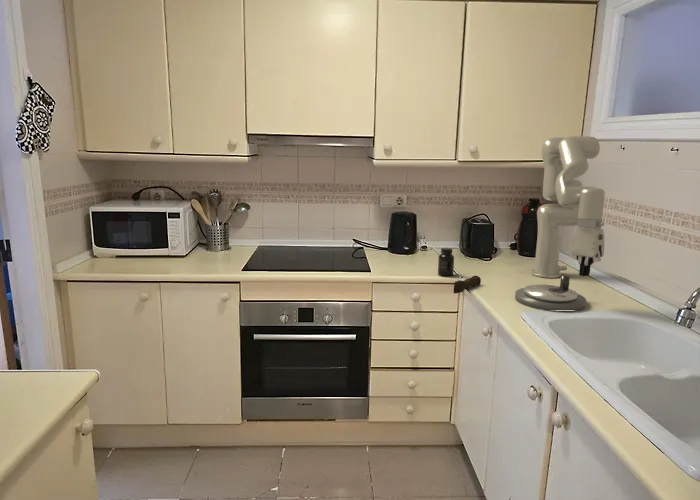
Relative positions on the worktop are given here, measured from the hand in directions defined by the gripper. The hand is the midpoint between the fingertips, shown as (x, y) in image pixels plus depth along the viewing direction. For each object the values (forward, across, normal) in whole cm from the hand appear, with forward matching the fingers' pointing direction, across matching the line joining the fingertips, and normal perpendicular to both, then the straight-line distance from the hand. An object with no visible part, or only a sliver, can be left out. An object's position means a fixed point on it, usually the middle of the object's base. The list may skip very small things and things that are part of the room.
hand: (584, 275), depth 168 cm
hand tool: (+11, +33, +24) cm, 43 cm away
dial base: (+11, +8, +7) cm, 15 cm away
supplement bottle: (+10, +55, +19) cm, 59 cm away
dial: (+8, +8, +7) cm, 14 cm away
